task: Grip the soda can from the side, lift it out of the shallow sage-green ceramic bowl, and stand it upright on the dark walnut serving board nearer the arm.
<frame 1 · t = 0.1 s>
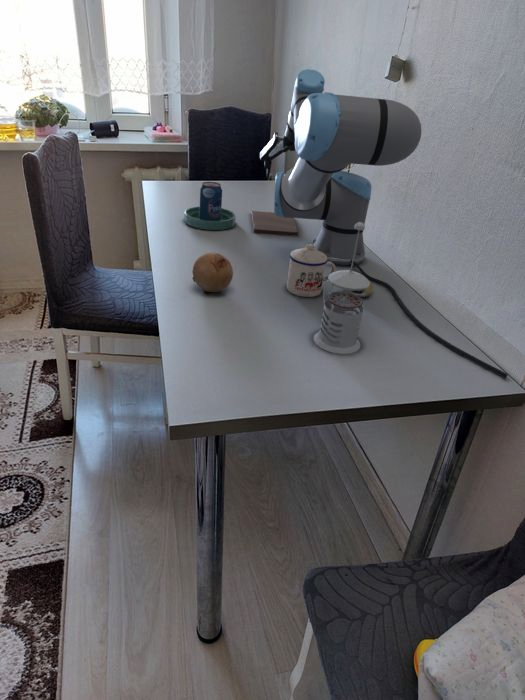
hand: (288, 176, 162), 15 cm above the table, tool tilted 35°, fingers open, 13 cm apart
soda can: (209, 222, 162), resting on bowl
bowl: (209, 222, 162), on the table
french press: (334, 340, 104), on the table
teacup with lid: (309, 290, 124), on the table
onion: (211, 289, 119), on the table
board: (273, 224, 167), on the table
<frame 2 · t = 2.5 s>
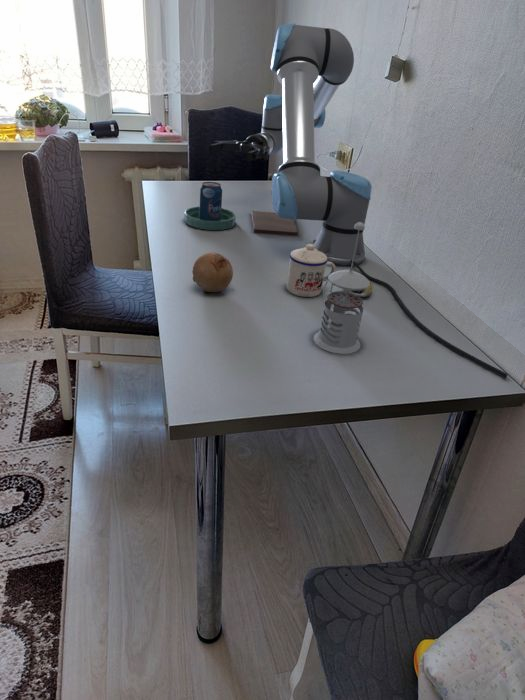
hand: (228, 153, 159), 20 cm above the table, tool horizontal, fingers open, 13 cm apart
nothing on the table moved.
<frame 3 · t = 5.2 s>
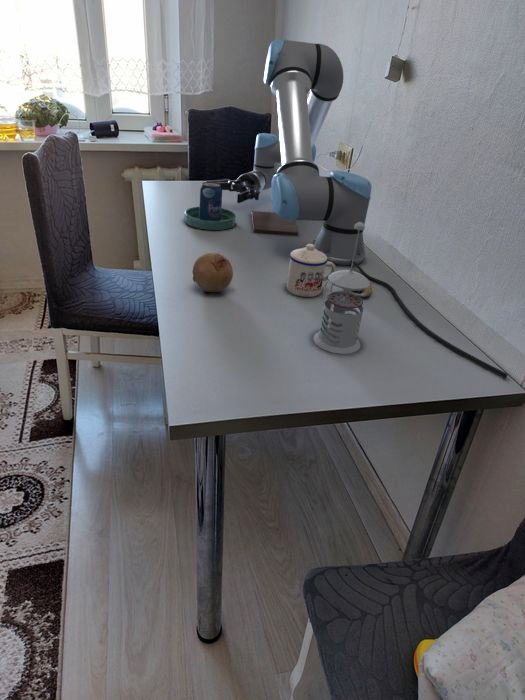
hand: (220, 194, 163), 8 cm above the table, tool horizontal, fingers open, 13 cm apart
nothing on the table moved.
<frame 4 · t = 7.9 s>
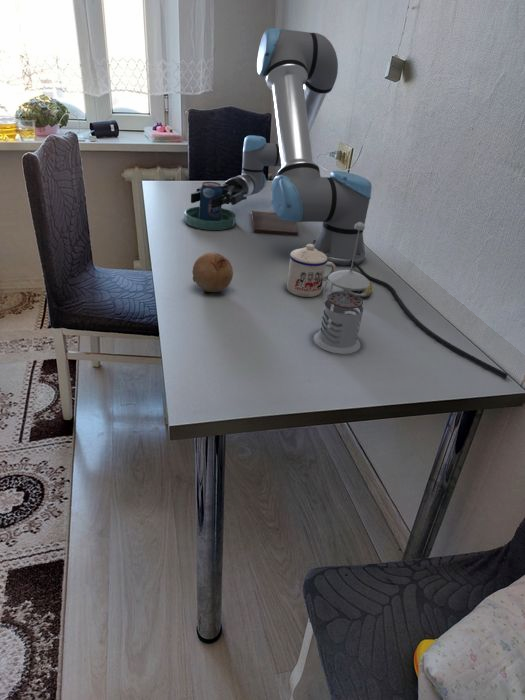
hand: (202, 201, 154), 8 cm above the table, tool horizontal, fingers closed on soda can, 7 cm apart
soda can: (209, 222, 162), resting on bowl, touching gripper
everything else where it was.
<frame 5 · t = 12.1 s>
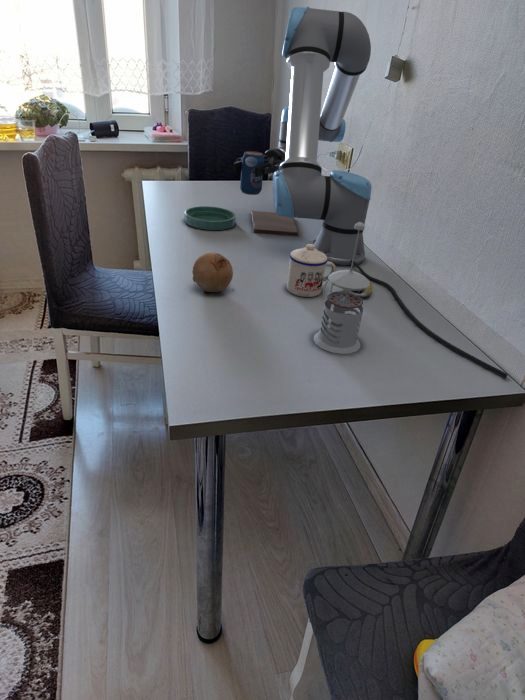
hand: (245, 169, 152), 18 cm above the table, tool horizontal, fingers closed on soda can, 7 cm apart
soda can: (250, 193, 160), point 10 cm above the table, touching gripper
everything else where it was.
when the fingers open (9 cm above the table, at t = 16.3 s): soda can stays where it is, resting on board.
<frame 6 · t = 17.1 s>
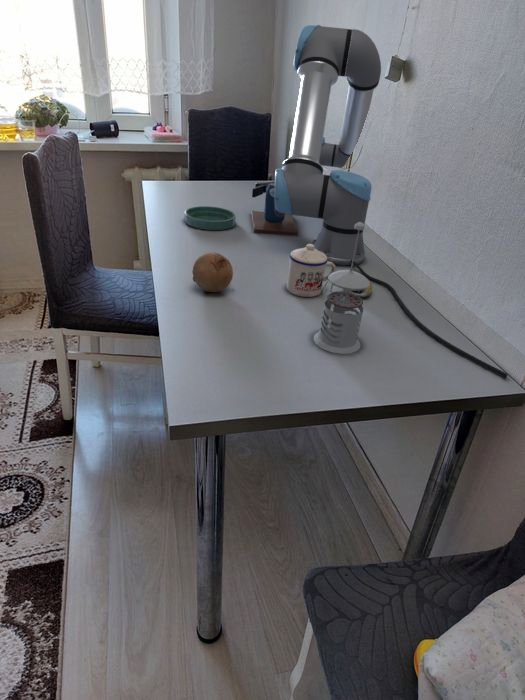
hand: (272, 197, 159), 10 cm above the table, tool horizontal, fingers open, 13 cm apart
soda can: (273, 221, 166), point 1 cm above the table, touching board
everything else where it was.
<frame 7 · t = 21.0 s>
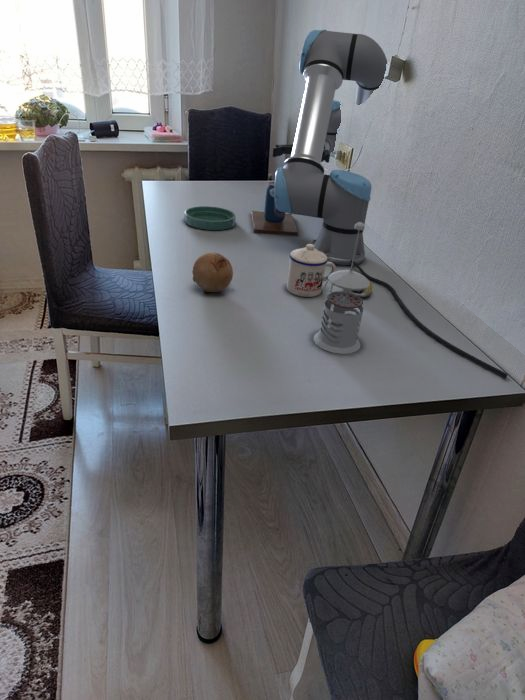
hand: (292, 156, 164), 21 cm above the table, tool horizontal, fingers open, 13 cm apart
nothing on the table moved.
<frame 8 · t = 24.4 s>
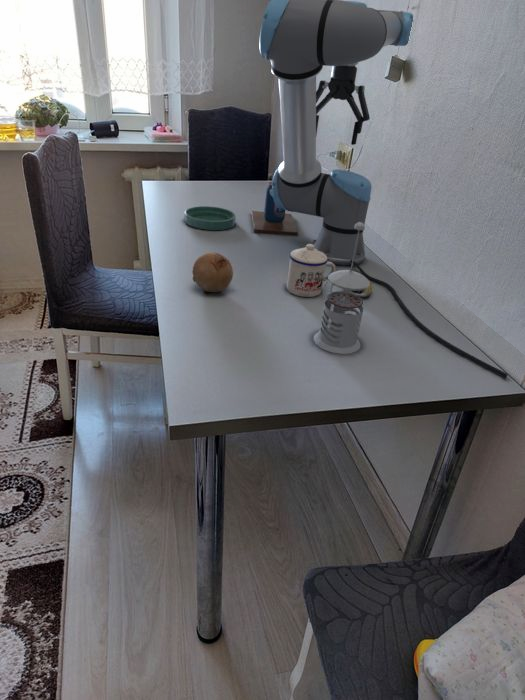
hand: (333, 140, 160), 27 cm above the table, tool pointing down, fingers open, 13 cm apart
nothing on the table moved.
at the end: soda can inside the target area on the board (0.1 cm from its centre), point 1.0 cm above the board's base; soda can tilted 0°; the gripper is holding nothing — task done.
